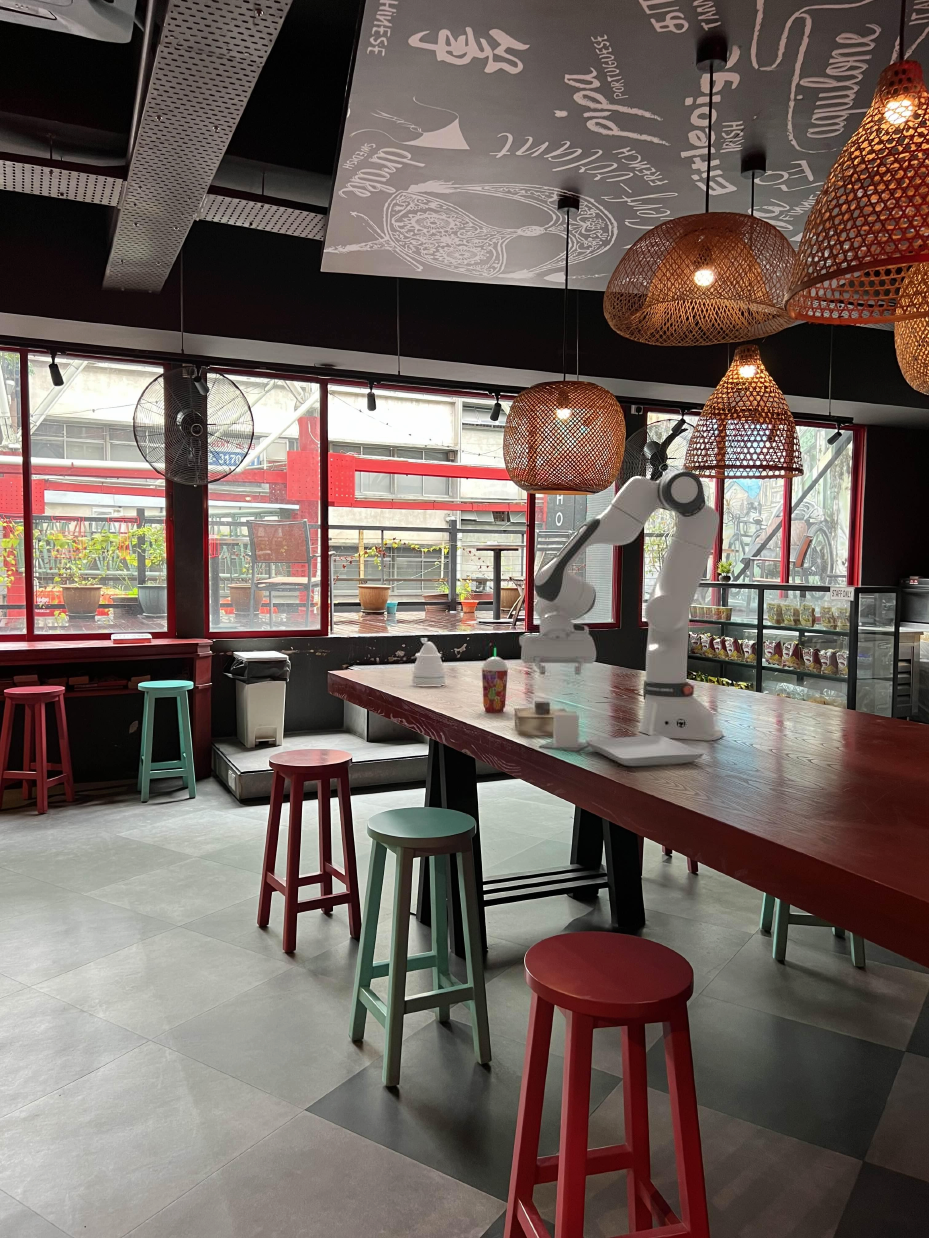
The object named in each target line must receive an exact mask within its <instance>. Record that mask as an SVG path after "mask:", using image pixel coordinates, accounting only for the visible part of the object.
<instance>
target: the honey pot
mask: <svg viewBox="0 0 929 1238" xmlns="http://www.w3.org/2000/svg"><path fill="white" fill-rule="evenodd" d="M420 641H421V643H422V644H423V646H422V647H421V649H420V651H419V652H418V653H415V657H416V661H415V663H414V665H413V670H412V671H411V672H412V674H411V675H412V676H411V677H412V679H411V684H412V683H413V684H416V685H441V684H445V685H446V671H445V667H444V663H443V662H442V658H441V657H442V654H441V653H439V652H438V651H439V650H438V649H437V647H436V645H435V644H434V643H433V642H432V641H428V638H427V637H424V638H423V637H421V638H420Z"/></svg>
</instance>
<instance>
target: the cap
mask: <svg viewBox="0 0 929 1238" xmlns="http://www.w3.org/2000/svg"><path fill="white" fill-rule="evenodd" d="M579 721H580V715H579V713H578V712H577V711H572V710H571V711H567V710H566V711H554V724H553V735H552V736H553V738H552V740H553V743H554V745H555V746H556V747H578V742H579V738H580V737H579V734H580V733H579V727H580V726H579V725H580V722H579Z"/></svg>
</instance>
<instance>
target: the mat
mask: <svg viewBox="0 0 929 1238" xmlns="http://www.w3.org/2000/svg"><path fill="white" fill-rule="evenodd" d="M588 747H589V746H588V744H587V743H586V742H583V741H581V742H580V741H578V747H556V746H555V745H554V743H553V739H552V740H550V741H548V742H545V743H542V744H540V745H538V748H542V749H548V750H549V749H550V750H558V751H565V750H567V752H573V751H574V752H575V753H577V752H579V750H580V751H582V750H584V749H585V748H588ZM583 748H584V749H583ZM581 749H582V750H581Z"/></svg>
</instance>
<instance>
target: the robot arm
mask: <svg viewBox="0 0 929 1238" xmlns="http://www.w3.org/2000/svg"><path fill="white" fill-rule="evenodd" d="M700 478H701V477H699V476H698V474H696V473H695V472H693V471H691V470H689V469H677V470H676V469H675V470H672V471H670V472H667V474H665V475H663V476H661V477H660V478H658V479H656V480H654V481H653V480H652V479H650V478H648V477H646V476H641V475H640V476H639V475H637V476H635V475H634V476H633V477H631V478H630V479H628V480H627V481H626V482H625V484H623V486H622V487H621V488H620V489H619V490H618V492H617V493H616V495H615V496H614V497H613V499H612V500H611V502H610V503H609V504H608V506H607V508H606V509H605V510H603V511H602V512H601V514H599V515H597V516H596V517H590V518H588V519H587V520H585V521H584V522H582V524H581V525H580V526H579V527H578V528H577V529H576V530H575V531H574V532H573V534H572V535H571V536H570V537H569V539H568V540H567V541H565V543H564V544H563V545H562V547H560V549H559V550H557V552H556V553H555V555H553V557H552V558H551V559H550V560H549V561H547V562H546V563H545V564H544V565H543V566H542V567H540V569H539V570H538V571H537V573H536V574H535V575H534V579H533V585H534V591H535V593H536V595H537V597H538V599H537V600H538V602H537V611H538V612H537V613H538V619H539V621H540V622H539V632H537V633H533V632H532V633H529V632H527V633H524V634H522V635H520V636H519V638H518V643H519V646H521V654H520V655H521V656H520V660H521V661H522V662H523V663H524V664H534V667H535V668H536V669H537V670H538V671H539V675H546V665H543V664H577V665H575V666H574V671H573V672H574V675H575V676H580V675H582V668H583V666H584V664H594V662H596V659H597V650H596V645H595V642H594V640H593V637H592V635H590V631H589V629H590V628H589V627H588V626H587V625H583V624H579V623H576V622H573V621H575V620H578V619H580V618H582V617H583V616H586V615H587V614H589V613H590V612H591V611H592V610H593V608H594V606H595V605H596V599H597V592H596V588H595V586H594V585H592V584H590V583H589V582H587V581H586V580H585V579H583V578H581V577H578V576H577V575H575V574H574V573H572V572H570V571H569V570H570V568H571V567H572V565H573V564H575V562H576V561H577V560H578V559H579V557H581V555H582V554H583V552H585V551H586V550H587V548H588V549H589V547H591V546H593V545H601V544H602V545H610V546H623V545H627V544H630V543H632V542H633V541H634V540H635V539H636V538H637V537H638V536H639V534H640V532H642V529H643V528H644V526H645V525H646V523H647V522H648V520H649V518H650V517H651V516H652V514H654V512H656V511H657V510H658V509H661V510H665V511H668V512H673V513H675V514H676V518H677V520H676V521H677V522H676V528H675V530H674V533H673V534H672V538H671V540H670V544H669V546H668V549H667V552H666V555H665V557H664V560H663V563H662V565H661V568H660V570H659V572H658V575H657V577H656V580H655V582H654V584H653V587H652V590H651V592H650V595H649V597H648V599H647V602H646V604H645V608H644V616H645V619H646V621H647V623H648V632H647V640H646V641H647V642H646V651H645V679H644V681H643V690H642V693H643V694H642V696H643V700H644V702H643V709H642V714H641V715H642V716H641V719H640V724H639V727H638V729H637V730H638V731H639V732H640V733H642V734H645V735H648V736H663V737H666V738H669V739H678V740H679V739H681V740H693V741H695V740H696V741H708V742H709V741H715V740H719V739H721V738H722V737H723V736H724V732H723V730H721V729H720V728H719V729H717V728H716V726H715V725H716V724H715V719H714V714H713V712H712V711H711V709H709V708H708V707H706V706H705V705H704V703H702V702H700V701H699V700H698V699H697V698H696V697H695V696H694V693H695V692H694V691H695V684H693V685H692V684H691V682H688V681H687V678H688V677H687V675H688V672H687V671H688V648H689V631H690V627H689V626H690V611H691V610H690V609H691V606H692V604H693V601H694V599H695V596H696V594H697V591H698V588H699V586H700V584H701V581H702V578H703V575H704V573H705V570H706V567H707V564H708V561H709V559H710V556H711V554H712V551H713V548H714V546H715V542H716V538H717V534H718V529H719V523H720V514H719V512H718V511H716V509H715V508H713V507H712V506H710V505H708V504H706V501H707V500H706V498H705V496H706V495H705V492H704V491H705V490H704V485H703V482H702V480H701V479H700Z"/></svg>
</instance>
